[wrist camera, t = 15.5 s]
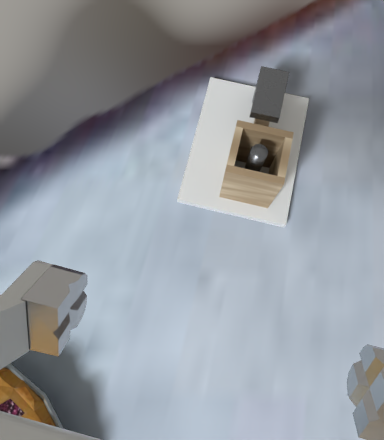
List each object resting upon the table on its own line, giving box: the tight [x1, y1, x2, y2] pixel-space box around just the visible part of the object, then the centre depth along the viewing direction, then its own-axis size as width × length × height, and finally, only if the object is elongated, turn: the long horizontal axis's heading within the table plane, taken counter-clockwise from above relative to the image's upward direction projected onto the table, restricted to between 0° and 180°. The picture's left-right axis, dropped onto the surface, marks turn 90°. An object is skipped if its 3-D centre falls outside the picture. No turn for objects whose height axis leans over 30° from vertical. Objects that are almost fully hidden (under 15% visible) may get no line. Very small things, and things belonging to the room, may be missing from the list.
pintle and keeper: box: [245, 66, 289, 172], centre depth 38 cm, size 12×3×8 cm, turn 166°
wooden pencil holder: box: [219, 119, 294, 208], centre depth 37 cm, size 10×5×7 cm, turn 166°
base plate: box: [177, 78, 309, 227], centre depth 42 cm, size 16×12×1 cm
